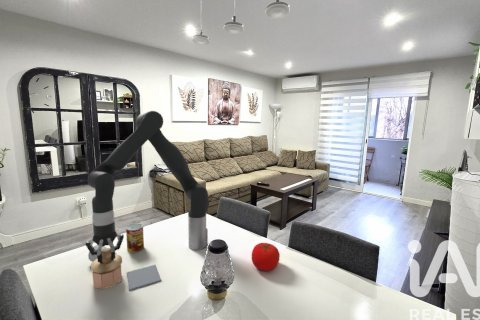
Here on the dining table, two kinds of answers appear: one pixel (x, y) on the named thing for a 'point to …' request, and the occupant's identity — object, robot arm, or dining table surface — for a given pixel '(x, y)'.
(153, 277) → the mat
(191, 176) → the robot arm
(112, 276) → the bowl
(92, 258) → the ceramic mug
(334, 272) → the dining table surface
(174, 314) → the dining table surface
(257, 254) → the tomato
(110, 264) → the lid
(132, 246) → the canned food
